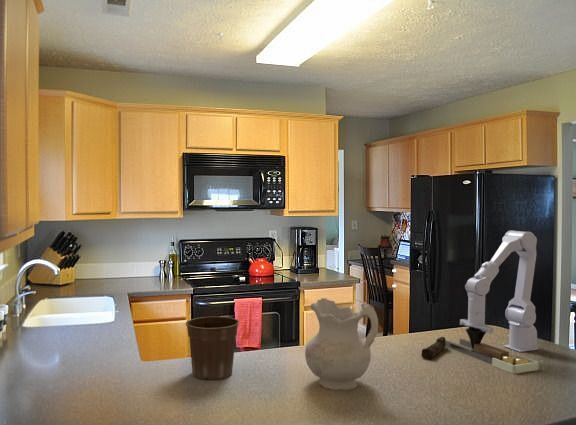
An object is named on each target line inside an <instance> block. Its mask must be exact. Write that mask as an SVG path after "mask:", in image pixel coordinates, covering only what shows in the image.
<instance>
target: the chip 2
mask: <svg viewBox="0 0 576 425" xmlns="http://www.w3.org/2000/svg"><path fill="white" fill-rule="evenodd" d="M526 358H527V357H526ZM526 358H522V357H516V356H515V365H519V364H526V363H528V359H526Z"/></svg>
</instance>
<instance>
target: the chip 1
mask: <svg viewBox="0 0 576 425" xmlns="http://www.w3.org/2000/svg"><path fill="white" fill-rule="evenodd" d="M515 358H516V356H514V355H510V354H509V355H503V356H502V361H504V362H507V363H509V364H512V365H515Z"/></svg>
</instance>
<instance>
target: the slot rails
mask: <svg viewBox="0 0 576 425" xmlns="http://www.w3.org/2000/svg"><path fill="white" fill-rule="evenodd" d="M445 343H446V344H445V348H446V347H447V348H450V349H452V350H454V351H457V352H459V353H461V354H465V355H468V356H470V357H473V358H475V359H478V360H481V361H484V362H486V363H489V364H490V365H492V358H493V357H491V356H488V355H485V354H483V353H480V352H477V351H474V349H472V346H471V342H470V340H468V339H464V338H460V339H459V343H455V342H453V341H451V340H446V341H445Z"/></svg>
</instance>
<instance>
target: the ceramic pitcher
mask: <svg viewBox="0 0 576 425" xmlns="http://www.w3.org/2000/svg"><path fill="white" fill-rule="evenodd" d="M310 309H311V310H312V312H314V313H315V315H316V318H317V320H318V324H319V327H318V328H319V330H318V332H317V333H316V335H314V336H313V337H312V338H311V339H309V340H308V341H307V343H306V345H305V352H304V354H305V361H306V364H307V366H308V369H310V371H311V372H312V374H314V376H316V377H318V378H319V379H318V384H319V386H320V387H321V388H325V389H327V390H329V391H345V390H346V391H348V390H354V389H355V388H356V387H358V386H359V384H358V382H357V381H356V380H358V379H360V378H362V376H363V375H364V374H365V373H366V371H367V370H368V368H369V366H370V364H371V358H372V357H371V348H370V347H371V345H373V343H374V342H375V339H376V337H377V335H378V332H379V318H378V315H377V312H376V311H375V307H374V306H373V303H372V304H371V303H363V304H361V309H360V311H359V312H356V311H354V310H353V309H352V308H351V307H350V306H345V305H344V306H341V305H340V306H338V305H337V304H336V301H334V300H331V299H328V298H327V297H326V298H325V297H324V298H320V299H318V300H317V301H316V302H315V303H314V302H313V303H311V305H310ZM363 318H368V319H369V320H370V329H369V331H368V334H367V336H366V338H365V340H364V339H363V338H362V337H361V336H360V335H359V333H358V332H359V331H358V328H359V321H360V320H361V319H363Z"/></svg>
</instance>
